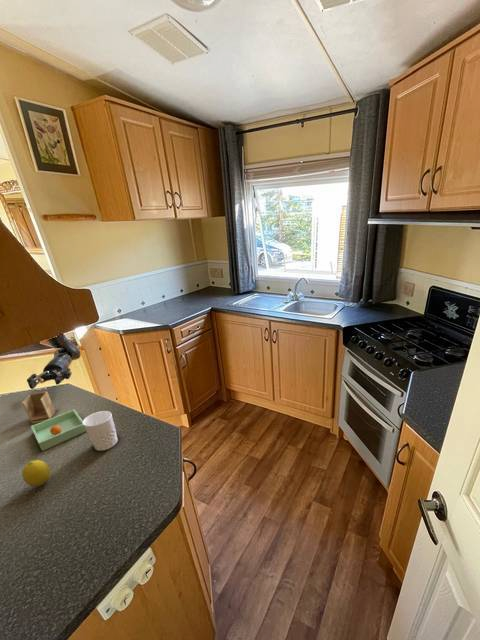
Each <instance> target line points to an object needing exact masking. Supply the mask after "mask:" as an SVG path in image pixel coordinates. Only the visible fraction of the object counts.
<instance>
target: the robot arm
mask: <svg viewBox="0 0 480 640" xmlns="http://www.w3.org/2000/svg"><path fill="white" fill-rule="evenodd" d="M46 342H47V343H48V345H50V347H51V348H53V349H56V350H55V351H53V358H51V359H50V360H49V361H48V363H47V364H45V366H44V367H43V370H42V372H41V373H40V374H37V373H32V374H31V375H30V376H29V377H28V378H27V379H26V383H27V384H28V387H29V389H31V390H35V388H36V387H37V385H40V384H44V383H46V382H49V381H54V382H55V385H57V386H58V385H60V384H61V383H62V382H63V381H64V380H70V379H71V376H72V371H71V368H70V366H71V364H72V362H73V361H76V360H79V359H80V357H81V355H82V352H81V350H80V348H79V347H78V346H76V345H75V344H74V343H73V342H72V341H71V340H69V339H68V338H67V337H66V336H65V333H63V335H59V336H57V337H55V338H52V339H49V340H46Z"/></svg>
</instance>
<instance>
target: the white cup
mask: <svg viewBox="0 0 480 640" xmlns="http://www.w3.org/2000/svg"><path fill="white" fill-rule="evenodd" d="M82 420H83V425H84V427H85V430H86V432H85V433H86V434H87V436H88V438H89V441H90V442H91V443H92V446H93V448H94V450H96V451H98V452H99V451H101V452H103V451H106V450H107V451H108V450H109V449H111V448H113V447H114V446H115V445H116V444H117V443H118V441H119V439H118V435H117V430H116V425H115V423H114V418H113V414H112V412H111V411H109V410H100V411H96V412H93V413H91V414H88V416H86V417H85V418H84V419H82Z"/></svg>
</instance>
